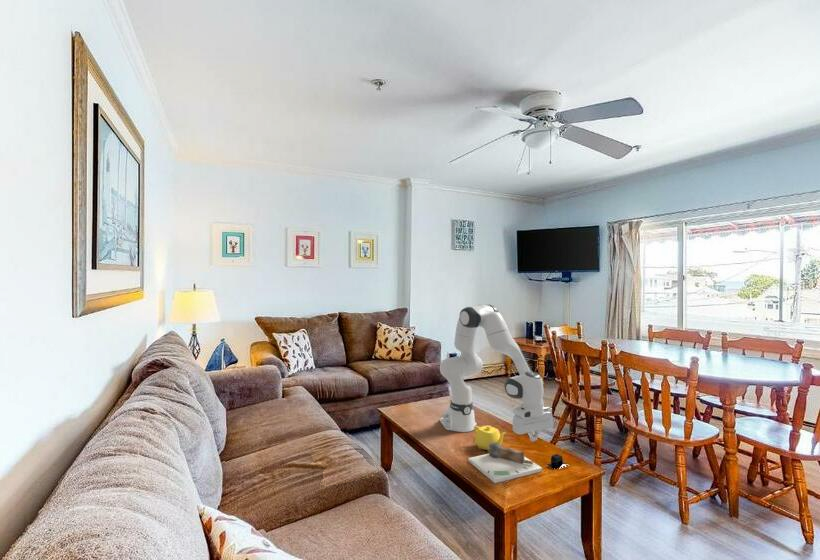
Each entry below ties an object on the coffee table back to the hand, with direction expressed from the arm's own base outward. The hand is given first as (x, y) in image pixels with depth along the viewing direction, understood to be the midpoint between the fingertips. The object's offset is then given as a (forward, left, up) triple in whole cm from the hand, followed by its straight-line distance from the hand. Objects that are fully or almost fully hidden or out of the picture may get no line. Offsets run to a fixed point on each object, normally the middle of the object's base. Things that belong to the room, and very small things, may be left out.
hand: (533, 440), depth 172 cm
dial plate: (-2, -14, -10) cm, 17 cm away
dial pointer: (-3, -10, -8) cm, 13 cm away
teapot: (-19, -10, -10) cm, 24 cm away
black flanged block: (+6, +8, -11) cm, 14 cm away
